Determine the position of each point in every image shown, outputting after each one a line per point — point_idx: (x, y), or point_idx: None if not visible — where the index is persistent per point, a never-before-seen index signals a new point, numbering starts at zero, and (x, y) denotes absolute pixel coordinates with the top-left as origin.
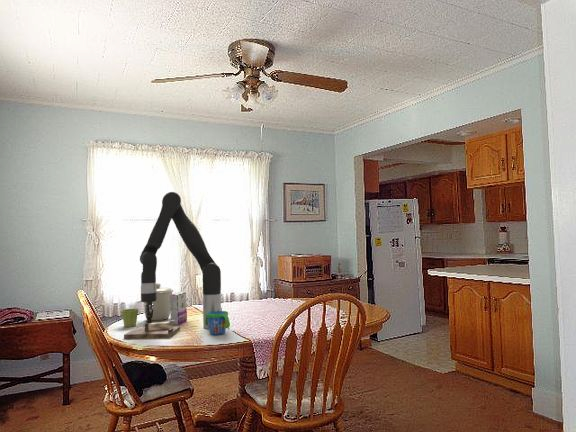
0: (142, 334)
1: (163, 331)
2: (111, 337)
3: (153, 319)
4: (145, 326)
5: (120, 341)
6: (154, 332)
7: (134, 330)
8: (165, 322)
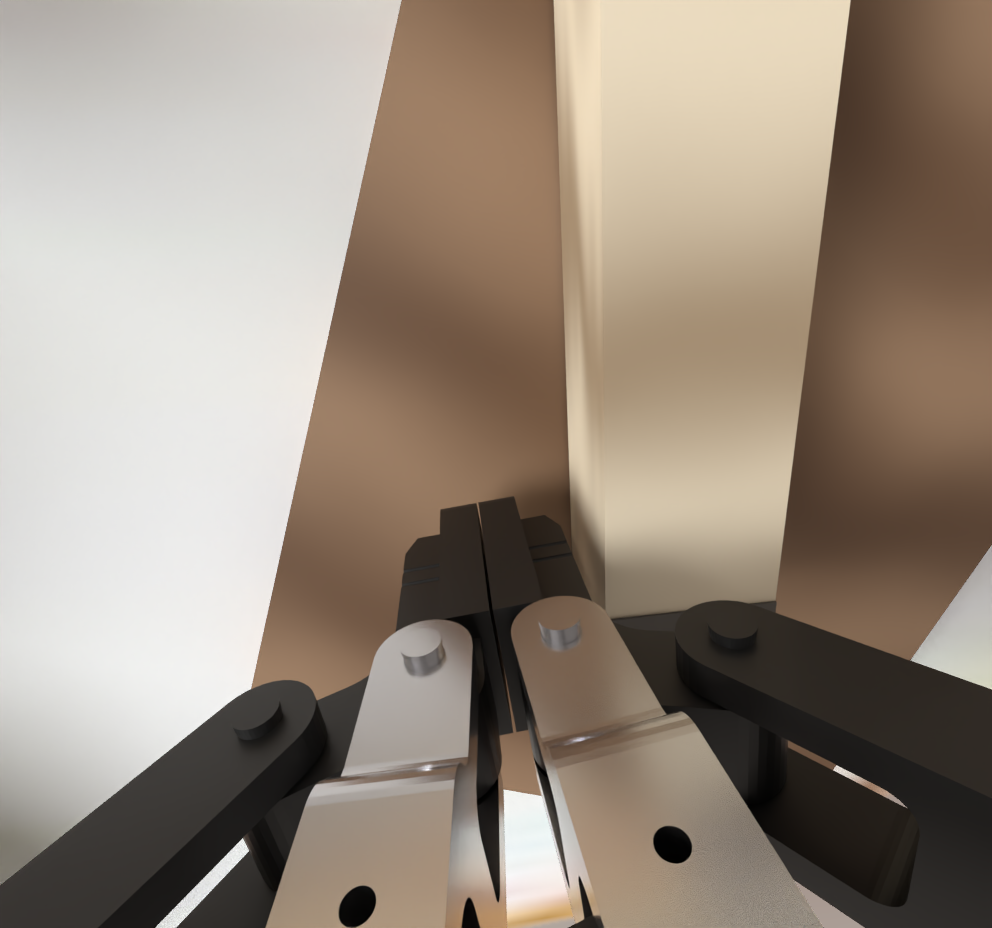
0: (950, 593)
1: (989, 170)
2: (567, 909)
3: None
4: None
5: (881, 790)
6: (953, 387)
7: (523, 751)
8: (749, 45)
